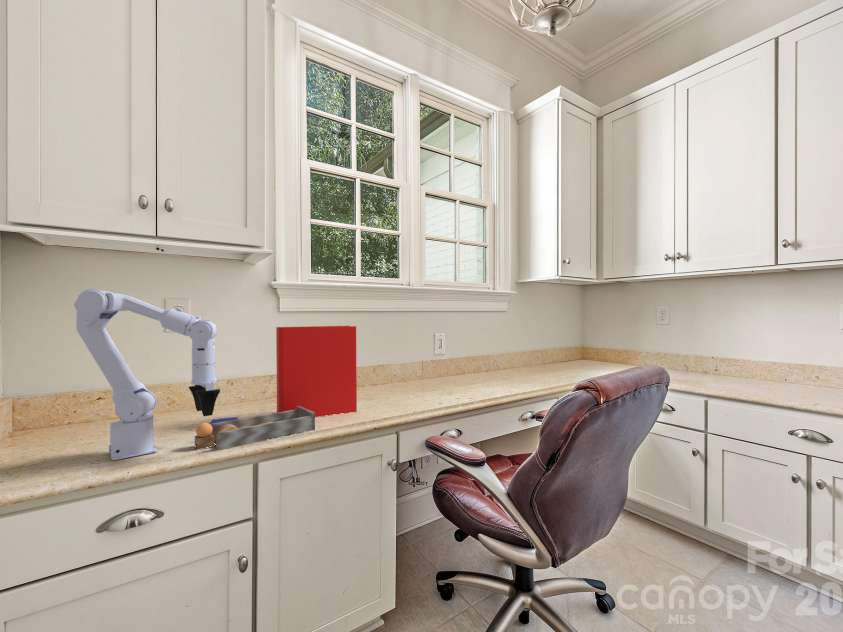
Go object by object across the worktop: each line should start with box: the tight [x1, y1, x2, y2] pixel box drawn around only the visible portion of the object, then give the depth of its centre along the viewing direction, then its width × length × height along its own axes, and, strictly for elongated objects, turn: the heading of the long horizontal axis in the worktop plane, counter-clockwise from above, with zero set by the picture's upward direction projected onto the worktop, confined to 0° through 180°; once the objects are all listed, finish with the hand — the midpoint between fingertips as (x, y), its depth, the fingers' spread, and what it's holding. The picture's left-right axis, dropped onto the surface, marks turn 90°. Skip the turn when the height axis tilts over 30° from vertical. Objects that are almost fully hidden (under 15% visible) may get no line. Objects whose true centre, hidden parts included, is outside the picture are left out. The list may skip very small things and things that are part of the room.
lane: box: [209, 406, 316, 451], centre depth 119 cm, size 28×12×10 cm, turn 131°
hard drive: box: [209, 416, 239, 424], centre depth 129 cm, size 2×8×12 cm
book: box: [275, 325, 358, 418], centre depth 143 cm, size 27×8×32 cm, turn 118°
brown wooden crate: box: [194, 434, 215, 450], centre depth 108 cm, size 4×4×3 cm
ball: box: [195, 422, 213, 438], centre depth 108 cm, size 4×4×4 cm
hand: (204, 413), depth 108 cm, fingers open, 7 cm apart
